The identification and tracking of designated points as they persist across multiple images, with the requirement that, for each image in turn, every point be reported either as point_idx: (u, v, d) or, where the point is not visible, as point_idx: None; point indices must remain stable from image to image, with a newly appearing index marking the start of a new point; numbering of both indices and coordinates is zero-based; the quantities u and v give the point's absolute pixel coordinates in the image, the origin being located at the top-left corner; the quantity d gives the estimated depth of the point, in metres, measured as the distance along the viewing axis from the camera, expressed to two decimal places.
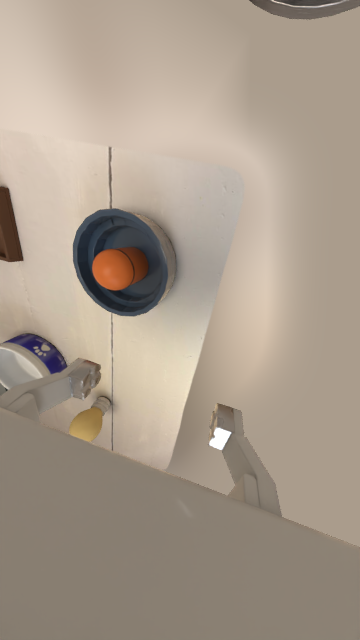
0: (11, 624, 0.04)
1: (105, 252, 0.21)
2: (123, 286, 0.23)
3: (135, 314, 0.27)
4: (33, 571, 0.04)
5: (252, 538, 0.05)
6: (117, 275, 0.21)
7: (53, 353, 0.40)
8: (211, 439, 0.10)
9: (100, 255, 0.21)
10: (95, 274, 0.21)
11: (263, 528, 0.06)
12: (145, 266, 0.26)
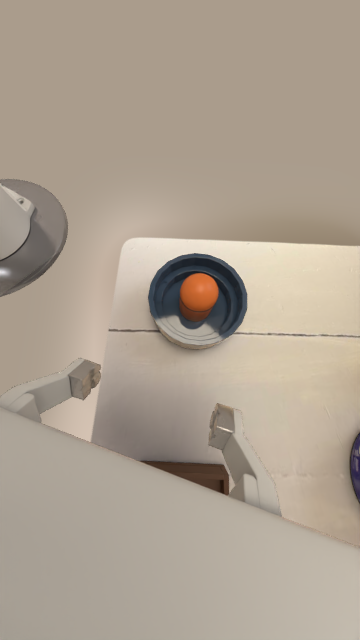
0: (11, 624, 0.04)
1: (182, 291, 0.23)
2: None
3: (239, 279, 0.26)
4: (33, 571, 0.04)
5: (252, 538, 0.05)
6: (200, 274, 0.23)
7: None
8: (211, 439, 0.10)
9: (186, 292, 0.22)
10: (204, 292, 0.22)
11: (263, 528, 0.06)
12: None
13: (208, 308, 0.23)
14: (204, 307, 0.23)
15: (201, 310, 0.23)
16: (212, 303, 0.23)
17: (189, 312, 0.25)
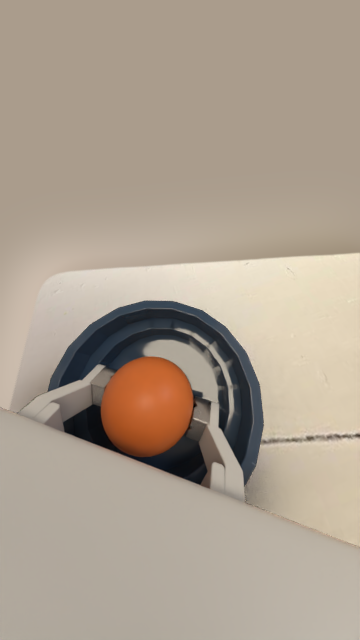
0: (11, 624, 0.04)
1: (101, 415, 0.09)
2: (172, 366, 0.10)
3: (240, 348, 0.12)
4: (33, 571, 0.04)
5: (252, 538, 0.05)
6: (140, 371, 0.09)
7: None
8: (188, 431, 0.10)
9: (104, 423, 0.09)
10: (146, 431, 0.08)
11: (263, 528, 0.06)
12: None
13: None
14: (157, 454, 0.09)
15: None
16: (177, 440, 0.09)
17: None
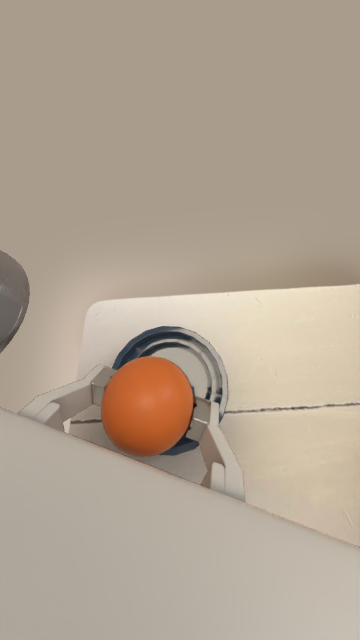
0: (11, 624, 0.04)
1: (101, 415, 0.09)
2: (172, 366, 0.10)
3: (217, 355, 0.21)
4: (33, 571, 0.04)
5: (252, 538, 0.05)
6: (140, 370, 0.09)
7: None
8: (188, 431, 0.10)
9: (105, 423, 0.09)
10: (146, 431, 0.08)
11: (263, 528, 0.06)
12: None
13: None
14: None
15: None
16: (177, 440, 0.09)
17: None
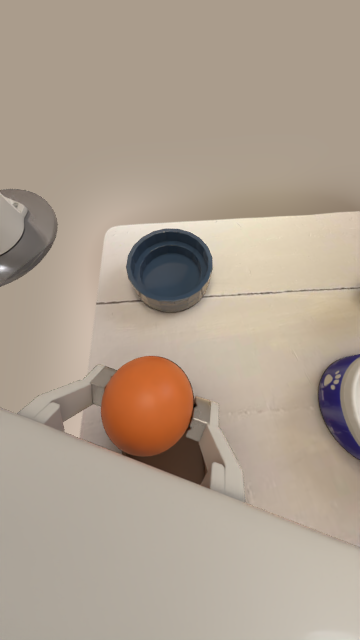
0: (11, 624, 0.04)
1: (101, 415, 0.09)
2: (172, 365, 0.10)
3: (205, 245, 0.30)
4: (33, 571, 0.04)
5: (252, 538, 0.05)
6: (140, 370, 0.09)
7: (331, 368, 0.27)
8: (188, 431, 0.10)
9: (105, 423, 0.09)
10: (146, 431, 0.08)
11: (263, 528, 0.06)
12: None
13: None
14: (158, 453, 0.09)
15: None
16: (178, 439, 0.09)
17: None
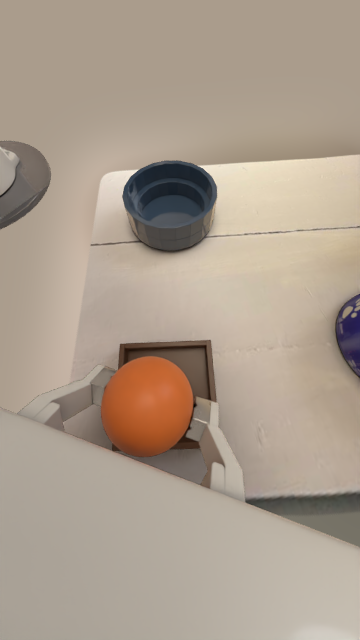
0: (11, 624, 0.04)
1: (101, 415, 0.09)
2: (172, 366, 0.10)
3: (208, 175, 0.27)
4: (33, 571, 0.04)
5: (252, 538, 0.05)
6: (140, 370, 0.09)
7: (350, 301, 0.24)
8: (188, 431, 0.10)
9: (105, 423, 0.09)
10: (146, 431, 0.08)
11: (263, 528, 0.06)
12: None
13: None
14: None
15: None
16: (177, 440, 0.09)
17: None
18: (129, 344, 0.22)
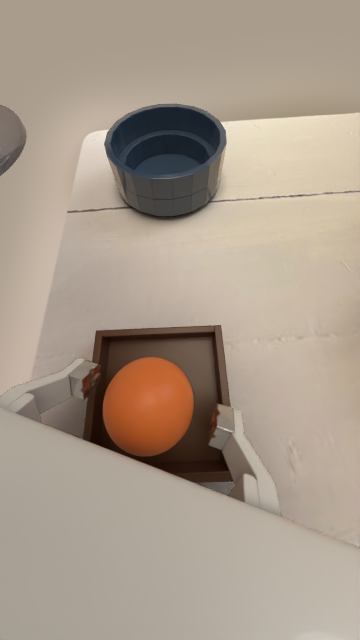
0: (11, 624, 0.04)
1: (103, 415, 0.09)
2: (173, 366, 0.10)
3: (215, 118, 0.21)
4: (33, 571, 0.04)
5: (252, 538, 0.05)
6: (141, 371, 0.09)
7: None
8: (211, 439, 0.10)
9: (106, 423, 0.09)
10: (148, 431, 0.08)
11: (263, 528, 0.06)
12: None
13: None
14: (159, 453, 0.09)
15: None
16: (178, 439, 0.09)
17: None
18: (109, 331, 0.16)
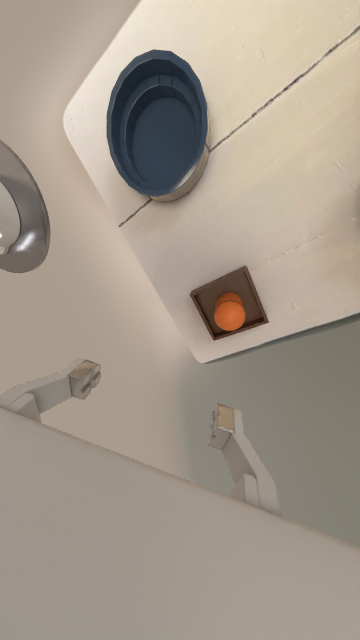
0: (11, 624, 0.04)
1: (218, 325, 0.30)
2: (233, 304, 0.29)
3: (183, 62, 0.20)
4: (33, 571, 0.04)
5: (252, 538, 0.05)
6: (225, 312, 0.28)
7: None
8: (211, 439, 0.10)
9: (221, 327, 0.30)
10: (234, 325, 0.29)
11: (263, 528, 0.06)
12: (221, 296, 0.34)
13: None
14: (238, 327, 0.30)
15: None
16: None
17: None
18: (195, 292, 0.34)
